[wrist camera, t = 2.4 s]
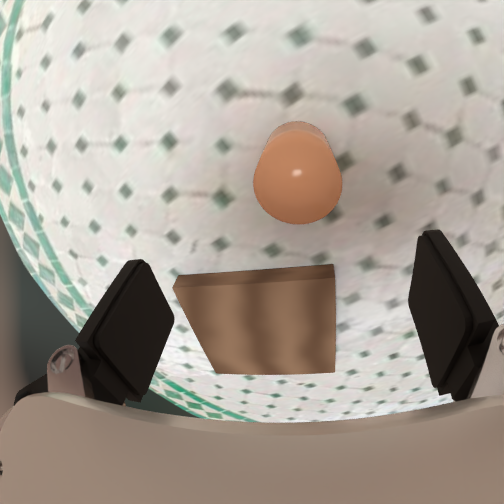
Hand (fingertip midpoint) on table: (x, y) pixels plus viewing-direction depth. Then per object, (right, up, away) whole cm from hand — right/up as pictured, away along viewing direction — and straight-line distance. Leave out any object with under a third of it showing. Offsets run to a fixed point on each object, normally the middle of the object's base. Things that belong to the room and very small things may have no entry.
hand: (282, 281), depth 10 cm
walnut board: (0, -7, +24) cm, 25 cm away
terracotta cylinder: (+3, +9, +12) cm, 15 cm away
